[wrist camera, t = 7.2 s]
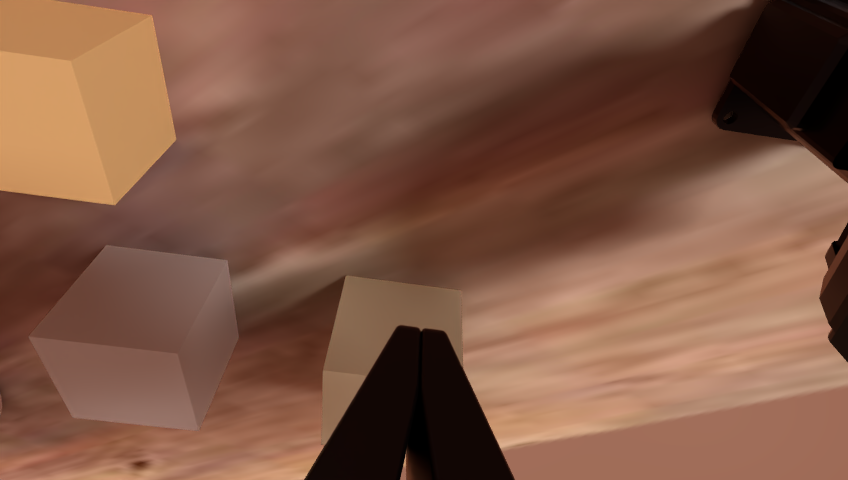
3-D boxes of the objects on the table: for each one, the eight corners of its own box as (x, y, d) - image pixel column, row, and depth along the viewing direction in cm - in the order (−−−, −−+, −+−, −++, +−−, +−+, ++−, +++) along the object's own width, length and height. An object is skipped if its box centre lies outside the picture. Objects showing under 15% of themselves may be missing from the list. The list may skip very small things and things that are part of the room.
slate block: (227, 259, 25) (177, 353, 21) (239, 336, 29) (199, 431, 24) (107, 243, 25) (27, 336, 20) (134, 324, 29) (72, 417, 24)
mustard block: (152, 14, 18) (70, 60, 14) (176, 138, 21) (114, 205, 17) (10, -7, 18) (-114, 34, 14) (55, 122, 21) (-36, 185, 17)
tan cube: (461, 289, 26) (463, 387, 21) (442, 361, 30) (441, 458, 25) (346, 274, 26) (322, 370, 21) (341, 348, 29) (321, 444, 25)
